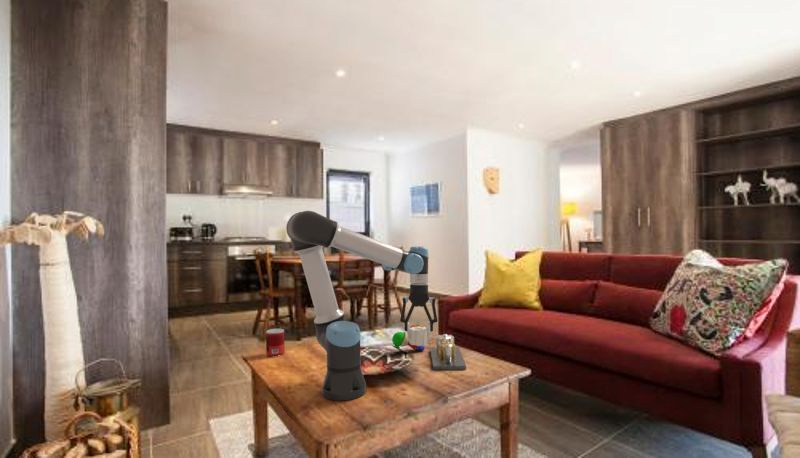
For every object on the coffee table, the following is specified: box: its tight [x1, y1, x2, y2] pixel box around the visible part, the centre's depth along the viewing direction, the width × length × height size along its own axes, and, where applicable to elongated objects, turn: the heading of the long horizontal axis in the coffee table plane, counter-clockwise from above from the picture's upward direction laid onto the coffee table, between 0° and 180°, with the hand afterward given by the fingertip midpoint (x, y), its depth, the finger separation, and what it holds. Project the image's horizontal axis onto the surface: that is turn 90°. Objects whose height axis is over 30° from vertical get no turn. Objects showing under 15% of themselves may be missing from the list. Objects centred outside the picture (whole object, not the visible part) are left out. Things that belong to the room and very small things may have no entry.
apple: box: [409, 323, 424, 328], centre depth 202 cm, size 8×8×10 cm
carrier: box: [430, 333, 467, 371], centre depth 173 cm, size 13×25×8 cm, turn 178°
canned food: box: [265, 328, 285, 357], centre depth 185 cm, size 8×8×11 cm
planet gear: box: [409, 326, 429, 347], centre depth 167 cm, size 8×8×6 cm
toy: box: [391, 331, 426, 352], centre depth 186 cm, size 8×8×15 cm
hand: (418, 339), depth 167 cm, fingers closed on planet gear, 8 cm apart
